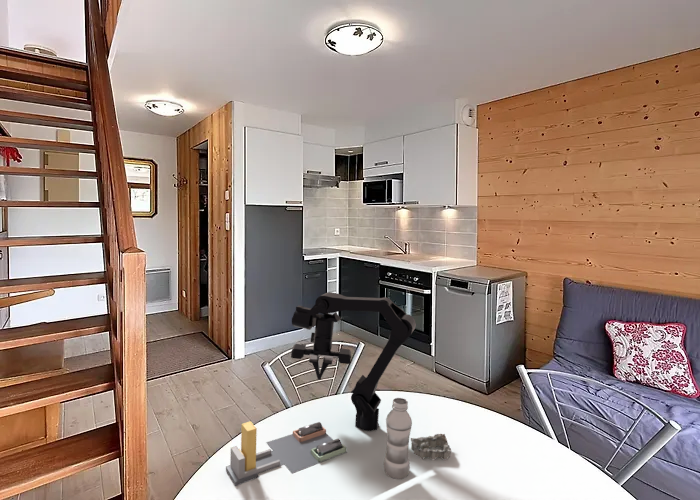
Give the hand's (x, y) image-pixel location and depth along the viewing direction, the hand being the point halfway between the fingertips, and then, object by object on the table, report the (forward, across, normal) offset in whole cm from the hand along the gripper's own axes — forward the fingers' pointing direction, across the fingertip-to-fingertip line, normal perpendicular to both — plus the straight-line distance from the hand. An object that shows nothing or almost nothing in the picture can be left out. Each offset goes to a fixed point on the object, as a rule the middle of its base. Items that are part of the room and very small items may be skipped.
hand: (319, 379), depth 129 cm
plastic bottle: (+11, -23, +27) cm, 37 cm away
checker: (+13, +6, +22) cm, 26 cm away
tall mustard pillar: (+12, +15, +28) cm, 34 cm away
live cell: (+11, -6, +20) cm, 24 cm away
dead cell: (+12, +1, +12) cm, 17 cm away
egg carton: (+11, -34, +16) cm, 40 cm away
